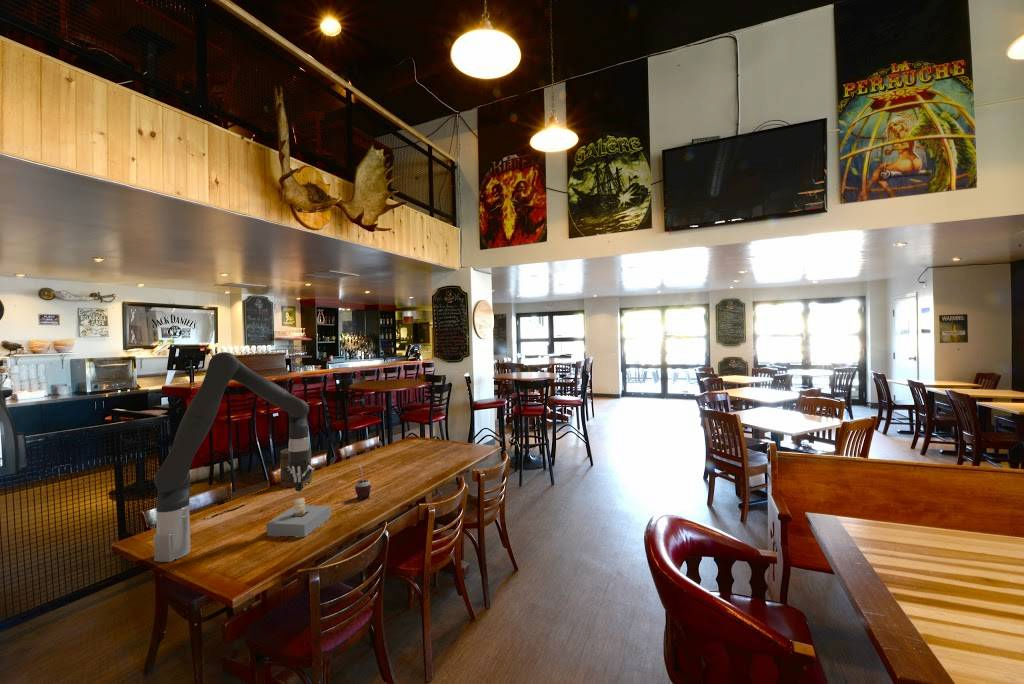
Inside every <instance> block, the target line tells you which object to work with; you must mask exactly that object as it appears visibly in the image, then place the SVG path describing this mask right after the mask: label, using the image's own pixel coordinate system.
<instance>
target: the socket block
mask: <svg viewBox="0 0 1024 684" xmlns="http://www.w3.org/2000/svg"><path fill="white" fill-rule="evenodd" d="M329 518H330V519H331V506H329V505H308V504H305V515H304V516H303V517H294V505H293V506H292V507H290V508H288V509H287V510H285V511H283V512H282V513H280V514H279V515H277V516H276V517H274V518H273V519H271V520H269V521H268V522H266V536H267V537H280V536H298V537H297V538H301V537H305V536H306V537H308V536H309V535H310V534H311V532H312V531H313V530H314V529H315V530H317V529H318V528H319V527H321V526H323V524H324V522H325V521H326V522H327V521H329V520H330V519H329ZM326 522H325V523H326ZM320 525H321V526H320ZM317 527H318V528H317ZM316 528H317V529H316ZM315 530H314V531H315ZM314 531H313V532H314ZM313 532H312V533H313ZM309 533H310V534H309ZM308 534H309V535H308ZM307 535H308V536H307ZM306 537H305V538H306Z"/></svg>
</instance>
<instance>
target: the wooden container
mask: <svg viewBox="0 0 1024 684" xmlns="http://www.w3.org/2000/svg"><path fill="white" fill-rule="evenodd" d="M311 453H312V449H311V447H310V446H309V463H310V465H309V466H311V467H312V454H311ZM279 455H280V456H279V457H280V458H279V459H280V460H279V464H280V466H279V467H280V469H279V470H280V471H279V472H280V473H279V475H280V486H283V487H282V488H284V487H294V488H295V482H294V481H291V480H290V479H289V478H288V476H287V475H286V473H285V472H284V471H283V469H284V468H286V467H288V464H289V462H290V461H289V447H287V448H284V449H281V450H280V454H279ZM306 473H307V470H306V471H305V474H306ZM312 477H313V475H312V474H311V475H310V477H309V478H308V479H307V480H305V481H303V484H306V483H308V482H310V481H311V480H312V479H313V478H312ZM312 481H313V480H312ZM312 481H311V482H312ZM311 482H310V483H311Z"/></svg>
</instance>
